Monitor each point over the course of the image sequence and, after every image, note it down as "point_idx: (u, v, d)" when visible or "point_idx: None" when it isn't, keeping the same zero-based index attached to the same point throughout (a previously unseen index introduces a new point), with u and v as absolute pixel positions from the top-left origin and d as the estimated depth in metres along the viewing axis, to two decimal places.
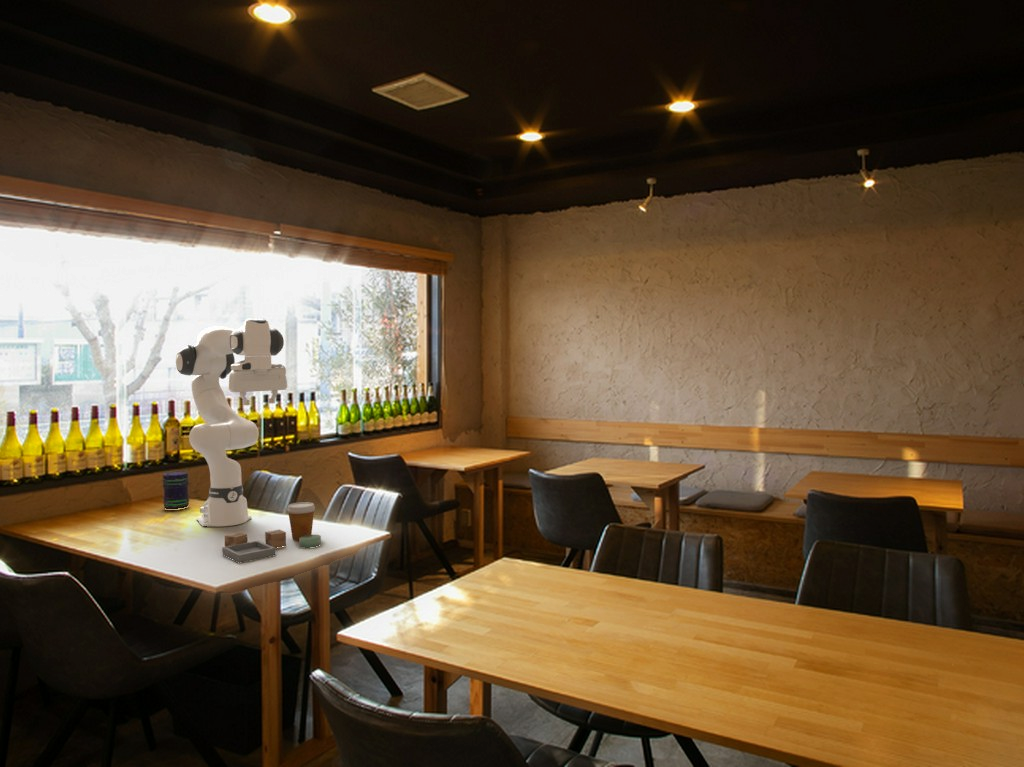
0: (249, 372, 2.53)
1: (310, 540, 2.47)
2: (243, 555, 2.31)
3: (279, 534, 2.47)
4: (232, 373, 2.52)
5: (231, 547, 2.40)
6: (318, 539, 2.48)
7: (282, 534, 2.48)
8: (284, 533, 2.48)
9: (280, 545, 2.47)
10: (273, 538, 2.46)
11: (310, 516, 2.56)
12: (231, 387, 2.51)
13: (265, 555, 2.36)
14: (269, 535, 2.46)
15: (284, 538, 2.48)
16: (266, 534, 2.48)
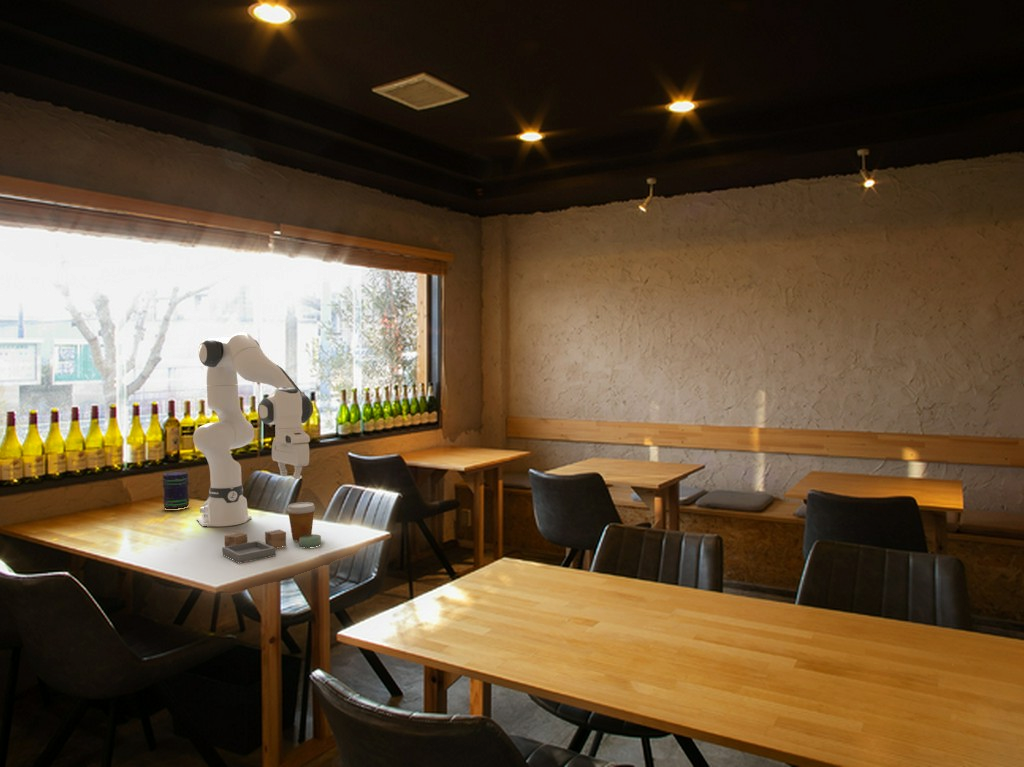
0: None
1: (310, 540, 2.47)
2: (243, 555, 2.31)
3: (279, 534, 2.47)
4: (300, 446, 2.40)
5: (231, 547, 2.40)
6: (318, 539, 2.48)
7: (282, 534, 2.48)
8: (284, 533, 2.48)
9: (280, 545, 2.47)
10: (273, 538, 2.46)
11: (310, 516, 2.56)
12: (305, 461, 2.40)
13: (265, 555, 2.36)
14: (269, 535, 2.46)
15: (284, 538, 2.48)
16: (266, 534, 2.48)
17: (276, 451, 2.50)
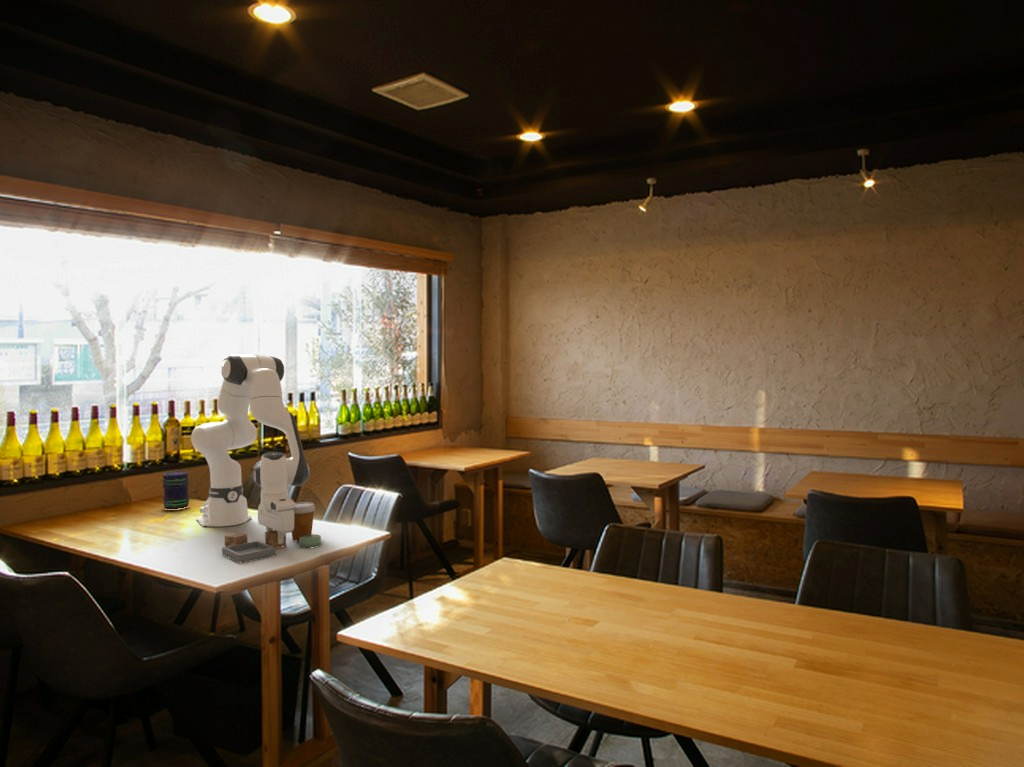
0: None
1: (310, 540, 2.47)
2: (243, 555, 2.31)
3: None
4: (285, 513, 2.41)
5: (231, 547, 2.40)
6: (318, 539, 2.48)
7: None
8: None
9: (280, 545, 2.47)
10: (273, 538, 2.46)
11: (310, 516, 2.56)
12: (289, 527, 2.41)
13: (265, 555, 2.36)
14: (269, 535, 2.46)
15: (284, 538, 2.48)
16: (266, 534, 2.48)
17: (262, 515, 2.52)
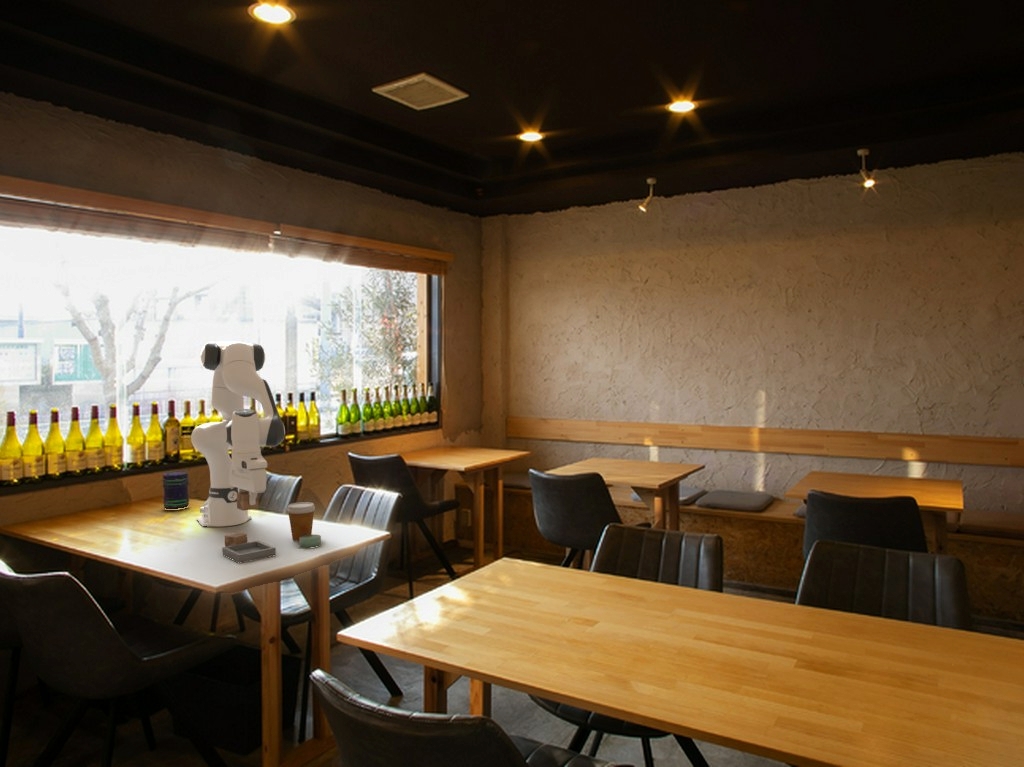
0: None
1: (310, 540, 2.47)
2: (243, 555, 2.31)
3: None
4: (257, 472, 2.30)
5: (231, 547, 2.40)
6: (318, 539, 2.48)
7: None
8: None
9: (252, 506, 2.36)
10: (245, 499, 2.35)
11: (310, 516, 2.56)
12: (261, 487, 2.30)
13: (265, 555, 2.36)
14: (241, 496, 2.35)
15: (256, 499, 2.37)
16: (237, 495, 2.37)
17: (233, 476, 2.41)
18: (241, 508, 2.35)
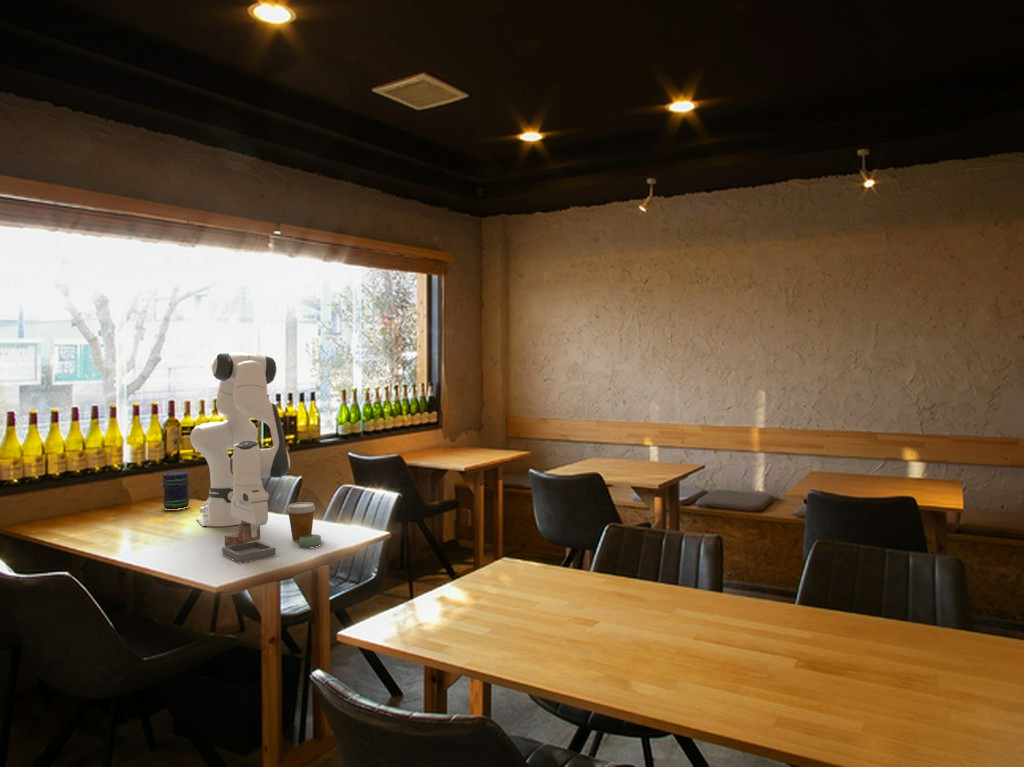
0: None
1: (310, 540, 2.47)
2: (243, 555, 2.31)
3: None
4: (258, 505, 2.31)
5: (231, 547, 2.40)
6: (318, 539, 2.48)
7: None
8: None
9: (254, 538, 2.37)
10: (246, 531, 2.35)
11: (310, 516, 2.56)
12: (263, 520, 2.31)
13: (265, 555, 2.36)
14: (242, 527, 2.36)
15: (258, 531, 2.38)
16: (239, 527, 2.38)
17: (235, 507, 2.41)
18: (243, 540, 2.36)
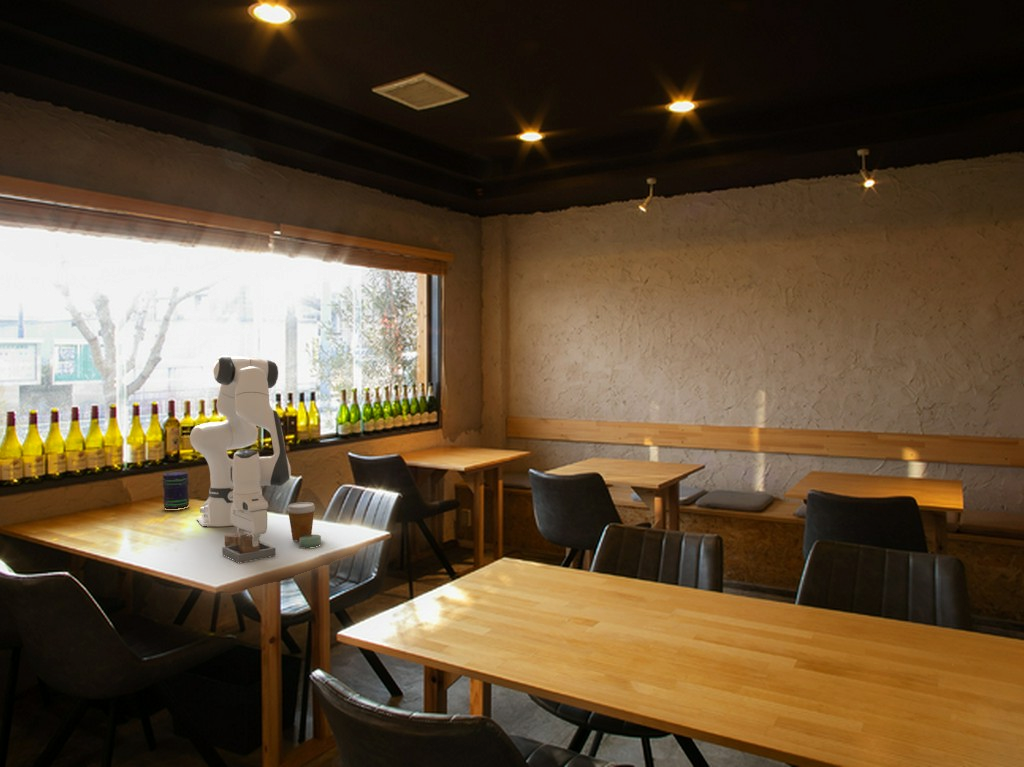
0: None
1: (310, 540, 2.47)
2: (243, 555, 2.31)
3: None
4: (258, 514, 2.31)
5: (231, 547, 2.40)
6: (318, 539, 2.48)
7: None
8: None
9: None
10: (246, 544, 2.35)
11: (310, 516, 2.56)
12: (262, 529, 2.31)
13: (265, 555, 2.36)
14: (242, 541, 2.36)
15: None
16: (239, 539, 2.38)
17: (234, 515, 2.41)
18: (242, 553, 2.36)
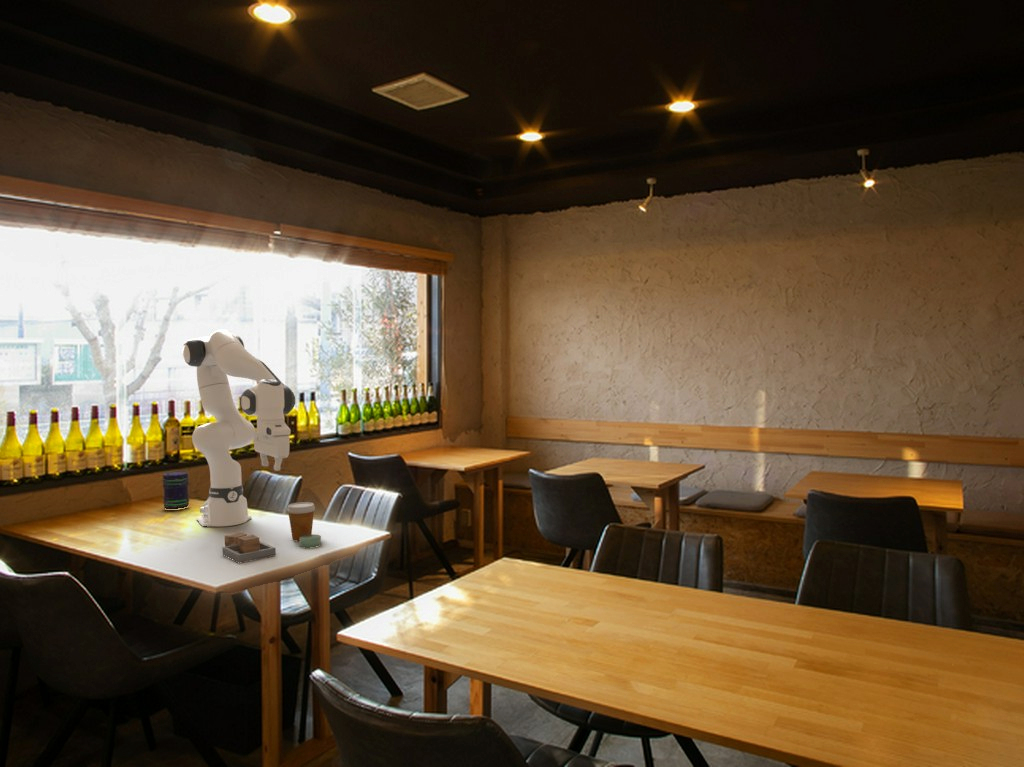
0: None
1: (309, 540, 2.46)
2: (243, 555, 2.31)
3: (252, 539, 2.37)
4: (281, 438, 2.42)
5: (231, 547, 2.40)
6: (318, 539, 2.48)
7: (255, 539, 2.37)
8: (257, 538, 2.38)
9: None
10: (246, 544, 2.35)
11: (310, 516, 2.56)
12: (284, 453, 2.42)
13: (265, 555, 2.36)
14: (242, 541, 2.36)
15: (257, 544, 2.38)
16: (239, 539, 2.38)
17: (258, 442, 2.53)
18: (242, 553, 2.36)
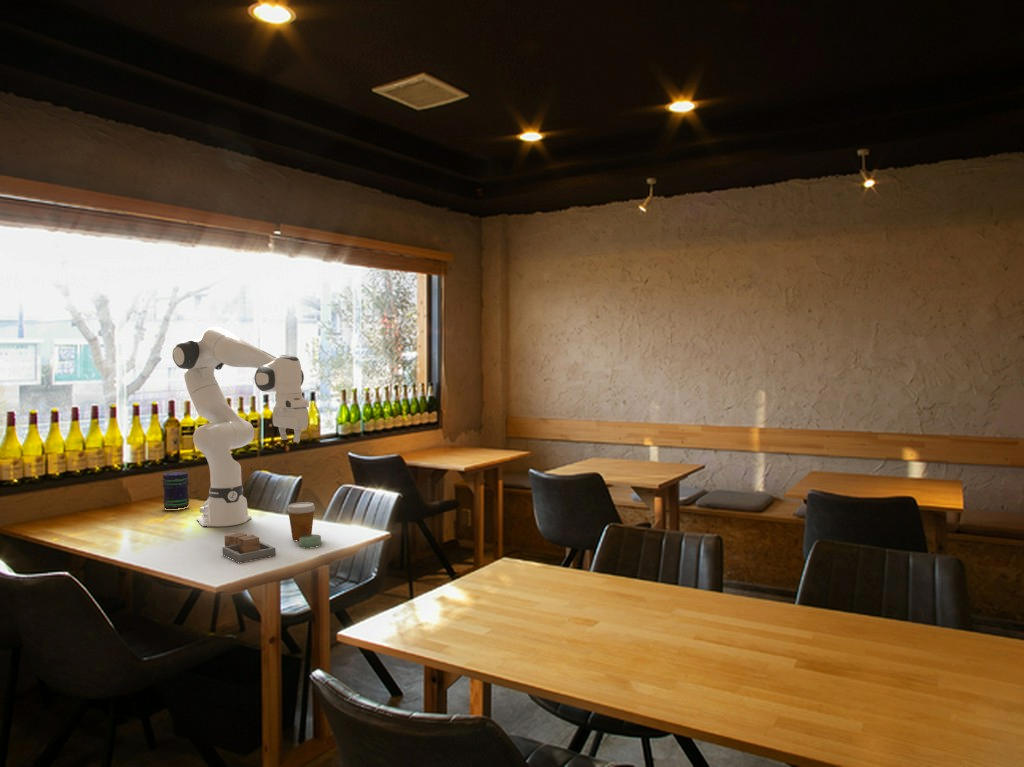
0: None
1: (309, 540, 2.46)
2: (243, 555, 2.31)
3: (252, 539, 2.37)
4: (300, 410, 2.52)
5: (231, 547, 2.40)
6: (318, 539, 2.48)
7: (255, 539, 2.37)
8: (257, 538, 2.38)
9: None
10: (246, 544, 2.35)
11: (310, 516, 2.56)
12: (304, 424, 2.53)
13: (265, 555, 2.36)
14: (242, 541, 2.36)
15: (257, 544, 2.38)
16: (239, 539, 2.38)
17: (277, 416, 2.63)
18: (242, 553, 2.36)
